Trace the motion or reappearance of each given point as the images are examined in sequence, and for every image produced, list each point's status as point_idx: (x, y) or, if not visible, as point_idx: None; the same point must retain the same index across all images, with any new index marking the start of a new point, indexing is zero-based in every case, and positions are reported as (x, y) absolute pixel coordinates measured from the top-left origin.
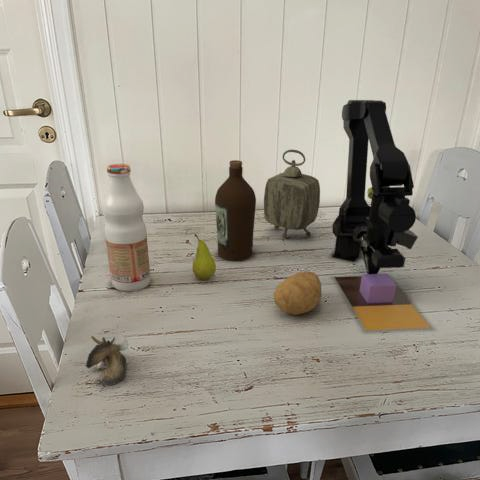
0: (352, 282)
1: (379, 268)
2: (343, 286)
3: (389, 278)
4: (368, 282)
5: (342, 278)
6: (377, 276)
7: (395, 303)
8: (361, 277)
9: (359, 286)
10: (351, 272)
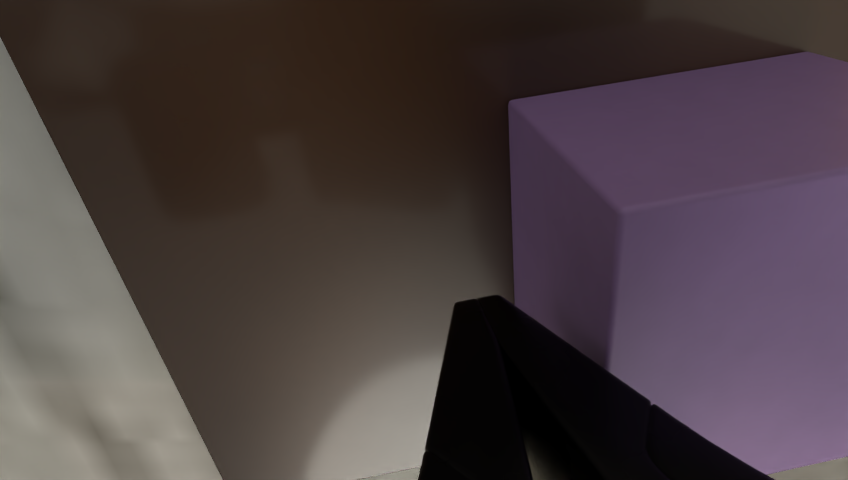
0: (328, 386)
1: (667, 424)
2: (421, 446)
3: (825, 195)
4: (823, 458)
5: (252, 456)
6: (699, 361)
7: (840, 21)
8: (171, 304)
9: (414, 335)
10: (36, 380)
